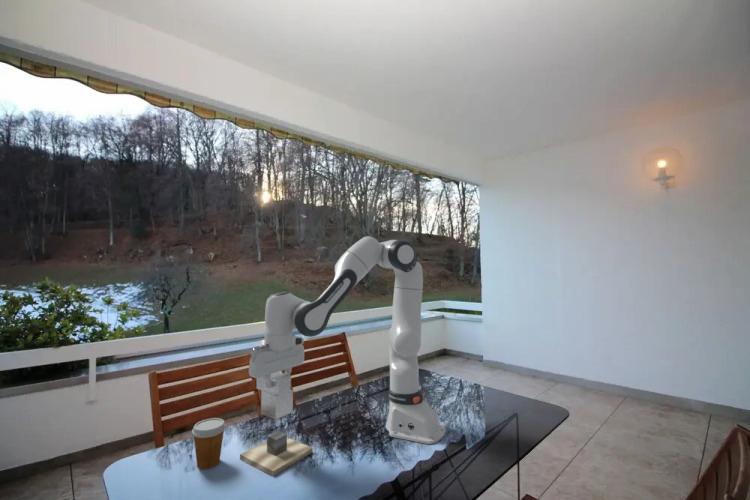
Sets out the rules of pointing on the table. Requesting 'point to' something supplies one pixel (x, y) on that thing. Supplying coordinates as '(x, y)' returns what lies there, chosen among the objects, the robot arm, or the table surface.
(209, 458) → the disposable coffee cup
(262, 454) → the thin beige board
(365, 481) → the table surface
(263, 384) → the grey stepped block
